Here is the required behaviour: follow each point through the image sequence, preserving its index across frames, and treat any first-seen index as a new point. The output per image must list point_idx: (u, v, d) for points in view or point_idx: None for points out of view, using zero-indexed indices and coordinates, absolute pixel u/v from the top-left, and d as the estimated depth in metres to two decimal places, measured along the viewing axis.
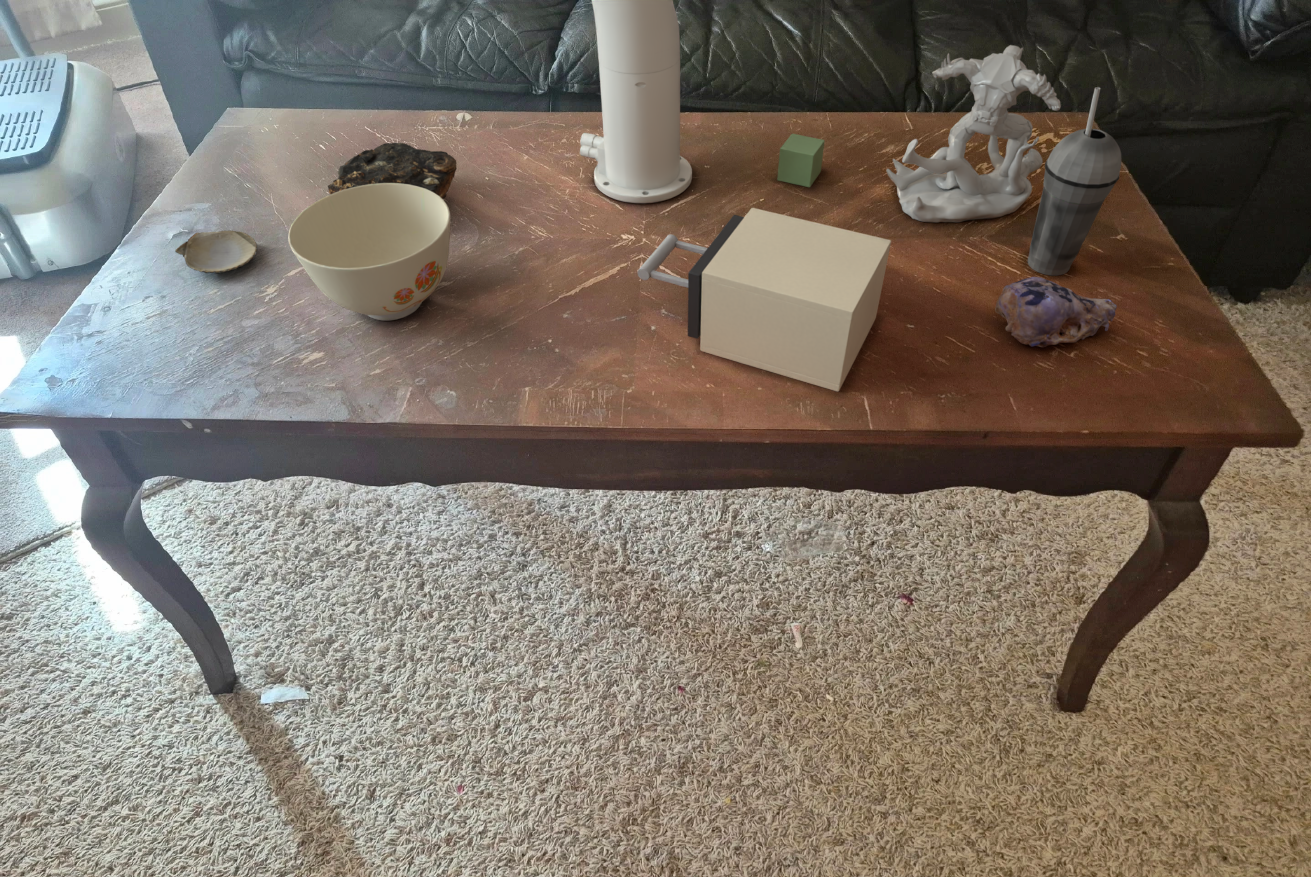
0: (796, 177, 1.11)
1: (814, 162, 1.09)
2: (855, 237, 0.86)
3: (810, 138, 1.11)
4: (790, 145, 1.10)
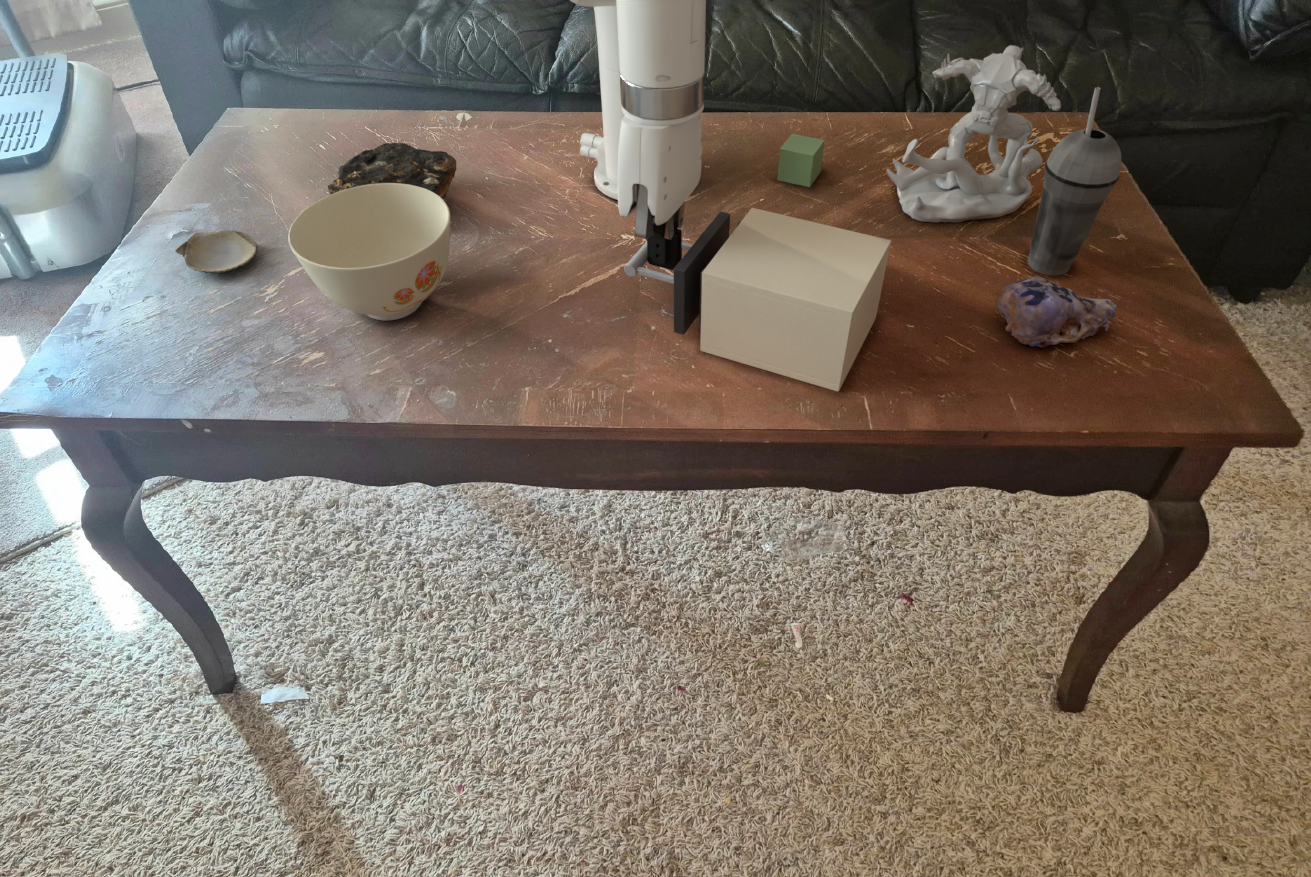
0: (796, 177, 1.11)
1: (814, 162, 1.09)
2: (855, 237, 0.86)
3: (810, 138, 1.11)
4: (790, 145, 1.10)
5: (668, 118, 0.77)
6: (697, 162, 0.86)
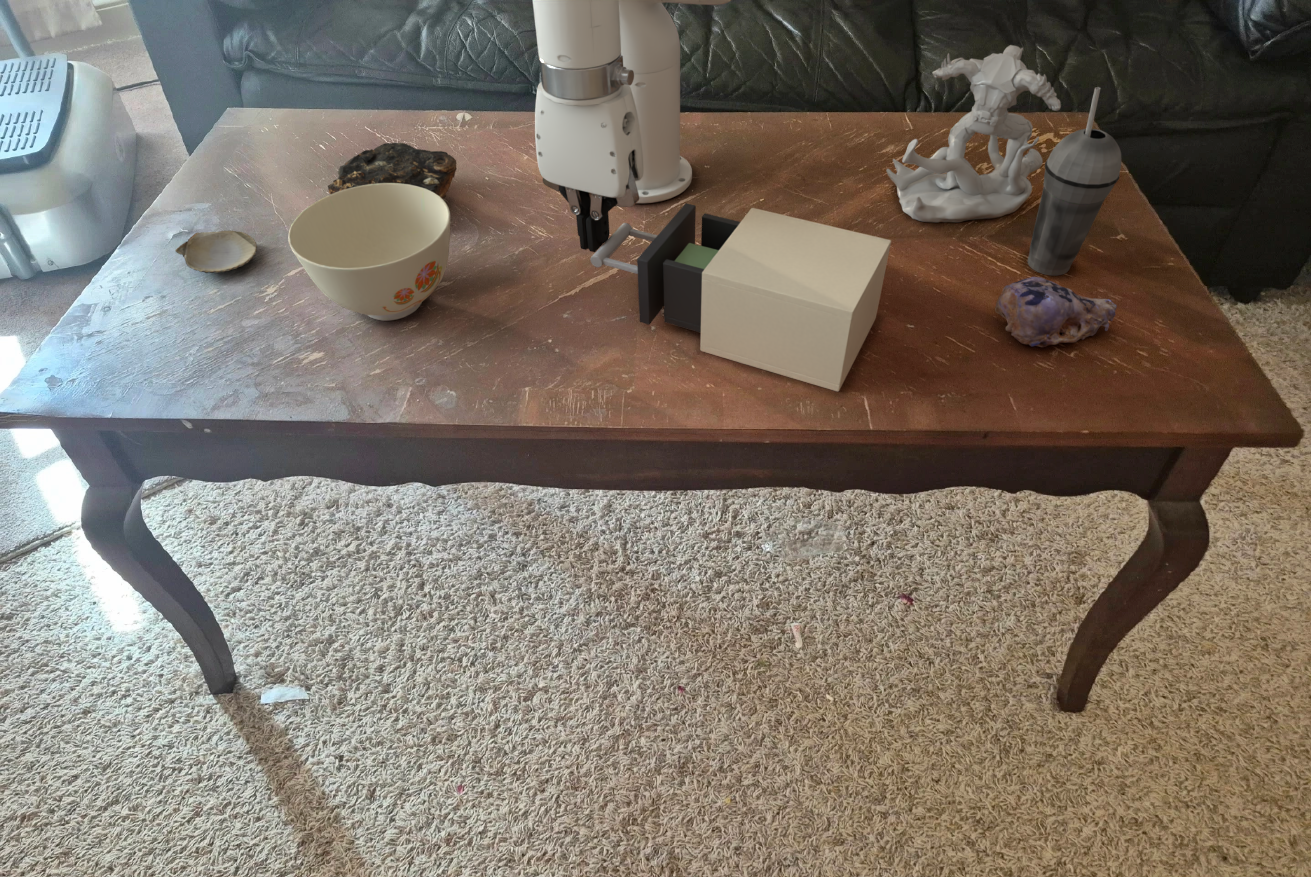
0: None
1: None
2: (855, 237, 0.86)
3: (710, 250, 0.90)
4: (685, 260, 0.89)
5: None
6: (602, 169, 0.84)
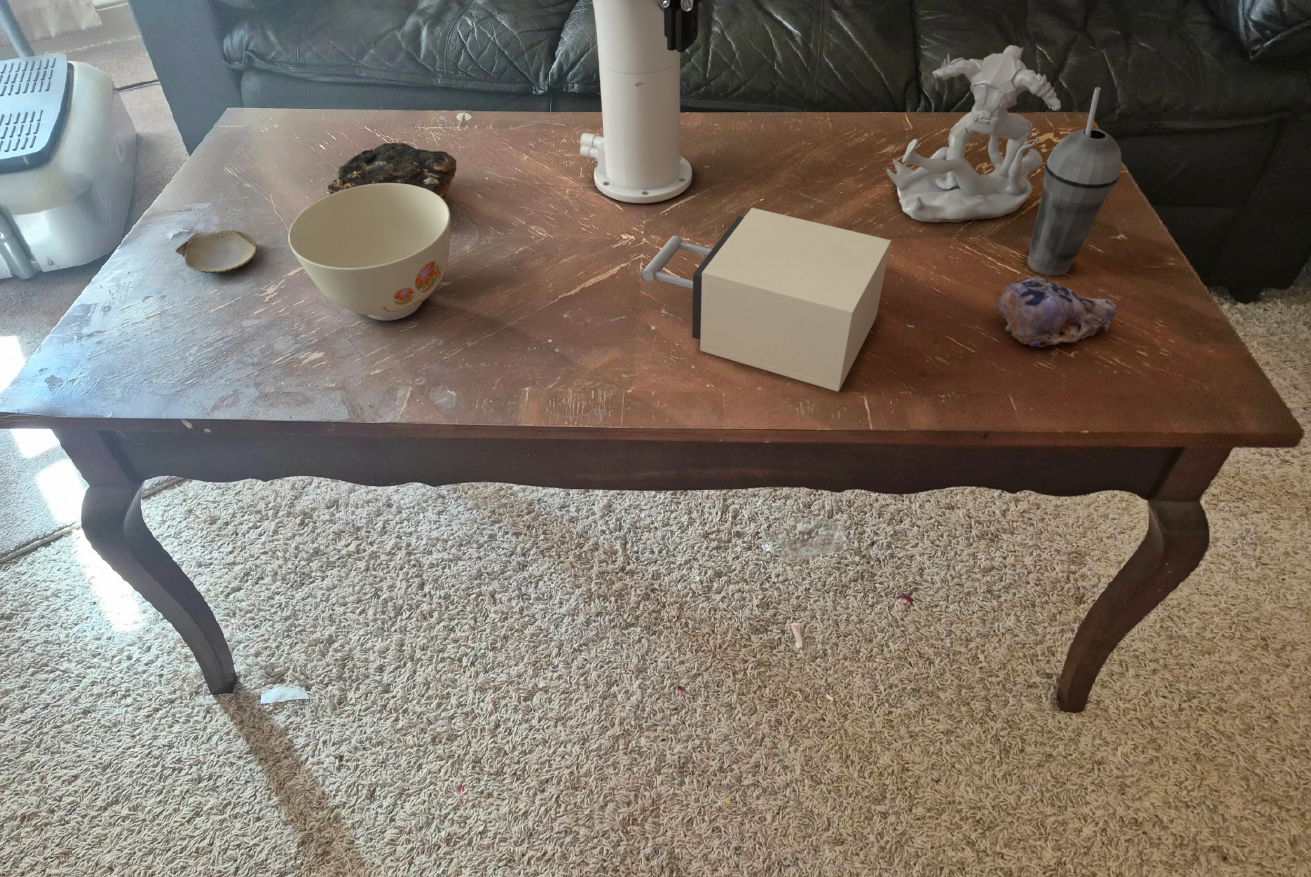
0: None
1: None
2: (855, 237, 0.86)
3: None
4: None
5: None
6: None
